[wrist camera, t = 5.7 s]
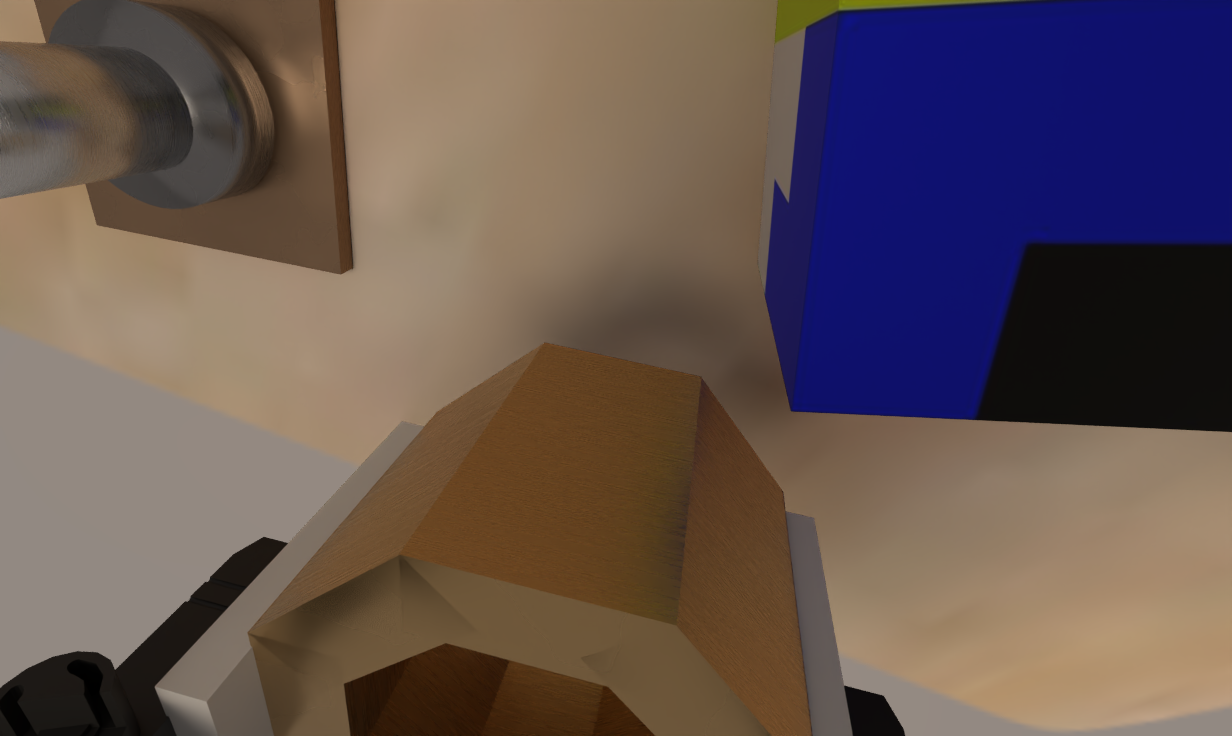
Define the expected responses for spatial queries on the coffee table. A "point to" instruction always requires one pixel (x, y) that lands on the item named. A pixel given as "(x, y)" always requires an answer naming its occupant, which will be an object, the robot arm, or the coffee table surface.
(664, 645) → the ring
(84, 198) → the coffee table surface
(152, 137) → the peg on square base
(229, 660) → the robot arm
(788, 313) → the puzzle toy
